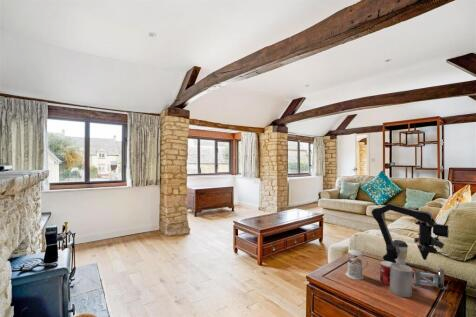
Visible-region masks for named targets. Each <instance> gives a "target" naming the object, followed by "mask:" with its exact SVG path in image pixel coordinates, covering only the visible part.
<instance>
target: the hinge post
mask: <svg viewBox="0 0 476 317" xmlns="http://www.w3.org/2000/svg"><path fill="white" fill-rule="evenodd" d="M437 273H438V274H437V275H438V286H435V287H436V288H437V290H438V289H439V290H442V291H443V290H444V291H448V288H447V287H445V283H444V282H445V270H444V269H443V268H438V269H437Z"/></svg>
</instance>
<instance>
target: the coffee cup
mask: <svg viewBox="0 0 476 317" xmlns="http://www.w3.org/2000/svg"><path fill="white" fill-rule="evenodd" d="M393 243H394V244H395V245H396V246H397V245H398V246H399V250H400V251H401V252H400V256H399V257H398V258H397V259H395V260H396V263H401V264H404V265H406V261H407V256H408V247H409V246H408V244H407V243H406V241H404V240H401V239H400V240H399V239H395V240H393Z"/></svg>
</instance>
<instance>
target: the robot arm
mask: <svg viewBox="0 0 476 317" xmlns="http://www.w3.org/2000/svg"><path fill="white" fill-rule="evenodd" d="M389 211H392V212H395V213H399V214H401V215H406V216H409V217H412V218H414V219H416V220H418V221H416V222H415V223H414V224H415V225H418V227H419V228H418V229H419V230H418V233H417V236H418V237H415V238H414V239H413V242H414V244H418V245H417V249H418V251H419V253H420V256H421V257H422V260H424V261H426V260H427V258H428V256H429V254H435V255H437V254H438V249H440V250H443V248H444V247H445V243H444V242H442V241H441V240H440V239H439V238H438V237H441V238H446V239H449V237H450V230H449V225H447V224H441V223H437V222H436V220H435V219H434V218H433V214H432V213H431V212H429V211H426V210H417V209H416V210H415V209H412V208H408V207H404V206H401V205H397V204H393V203H392V202H391V203H387V204H386V205H383V206H382V207H376V208H373V209H372V210H371V215H372V216H373V219H374V220H375V222H377V225H378V226H379V229H380V232H381V235H382V237H383V241H384V243H385V251H386V253H385V254H384V255H383V256H382V258H383V261H389V262H392V263H396V260H395V259H397V258H398V257H399V256H400V252H401V251H400V250H399V246H398V245H397V246H396V245H395V244H394V243H393V241H394V240H393V237H392V236H391V232H390V230H389V228H388V224H387V223H386V215H385V214H386V212H389ZM432 233H433V235H434V236H433V235H432ZM436 236H437V237H436ZM435 247H437V248H438V249H436V248H435Z"/></svg>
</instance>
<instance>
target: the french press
mask: <svg viewBox="0 0 476 317" xmlns="http://www.w3.org/2000/svg"><path fill="white" fill-rule="evenodd" d="M353 236H354V237H358V234H357V233H355V234H353ZM354 241H355V242H354V244H355V246H354V247H355V248H354V249H349V250H348V251H347V253H348V254H349V255H351V256H349V257H348V259H347V271H346V272H345V275H346V276H347V277H348V278H350V279H353V280H364V277H365V276H363V270H365V269H366V268H368V265H369V264H368V262H369V261H368V259H367V258H366V257H365V256H364V255H363V253H362V252H361V251H360V250H358V249H357V248H356V244H357V243H356V242H357V240H356V238H355V240H354ZM359 257H361V259H360V258H359ZM363 259H365V260H366V264H365V266H364V267H363V263H362V261H363Z"/></svg>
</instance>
